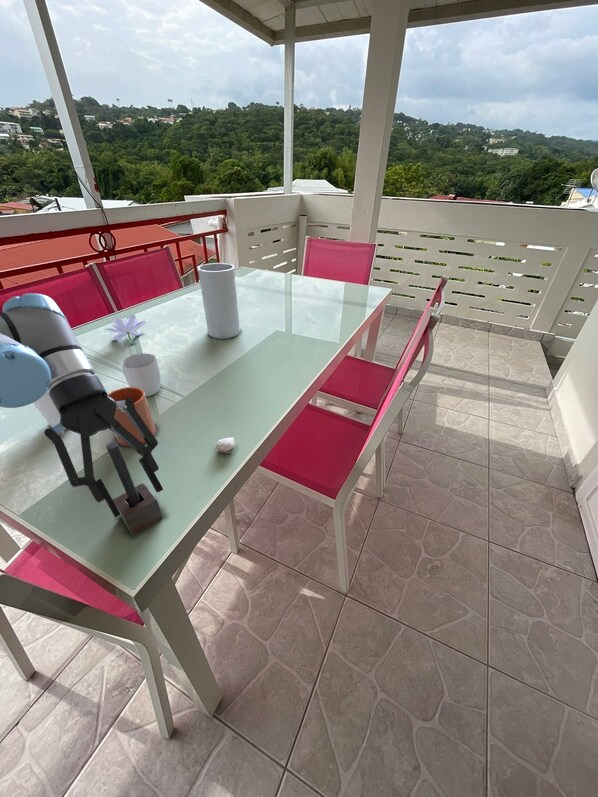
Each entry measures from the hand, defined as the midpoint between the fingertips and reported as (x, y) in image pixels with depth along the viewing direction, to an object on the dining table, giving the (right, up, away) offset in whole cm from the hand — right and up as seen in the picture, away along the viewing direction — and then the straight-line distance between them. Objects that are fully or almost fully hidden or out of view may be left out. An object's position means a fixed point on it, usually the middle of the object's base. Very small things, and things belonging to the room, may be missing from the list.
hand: (139, 502), depth 55 cm
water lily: (-37, +40, +70) cm, 88 cm away
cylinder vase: (-3, +43, +76) cm, 88 cm away
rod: (-3, -5, +6) cm, 8 cm away
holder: (-3, -5, +6) cm, 8 cm away
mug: (-18, +21, +43) cm, 51 cm away
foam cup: (-33, +11, +29) cm, 45 cm away
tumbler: (-13, +9, +25) cm, 30 cm away
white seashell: (+10, +6, +22) cm, 25 cm away
